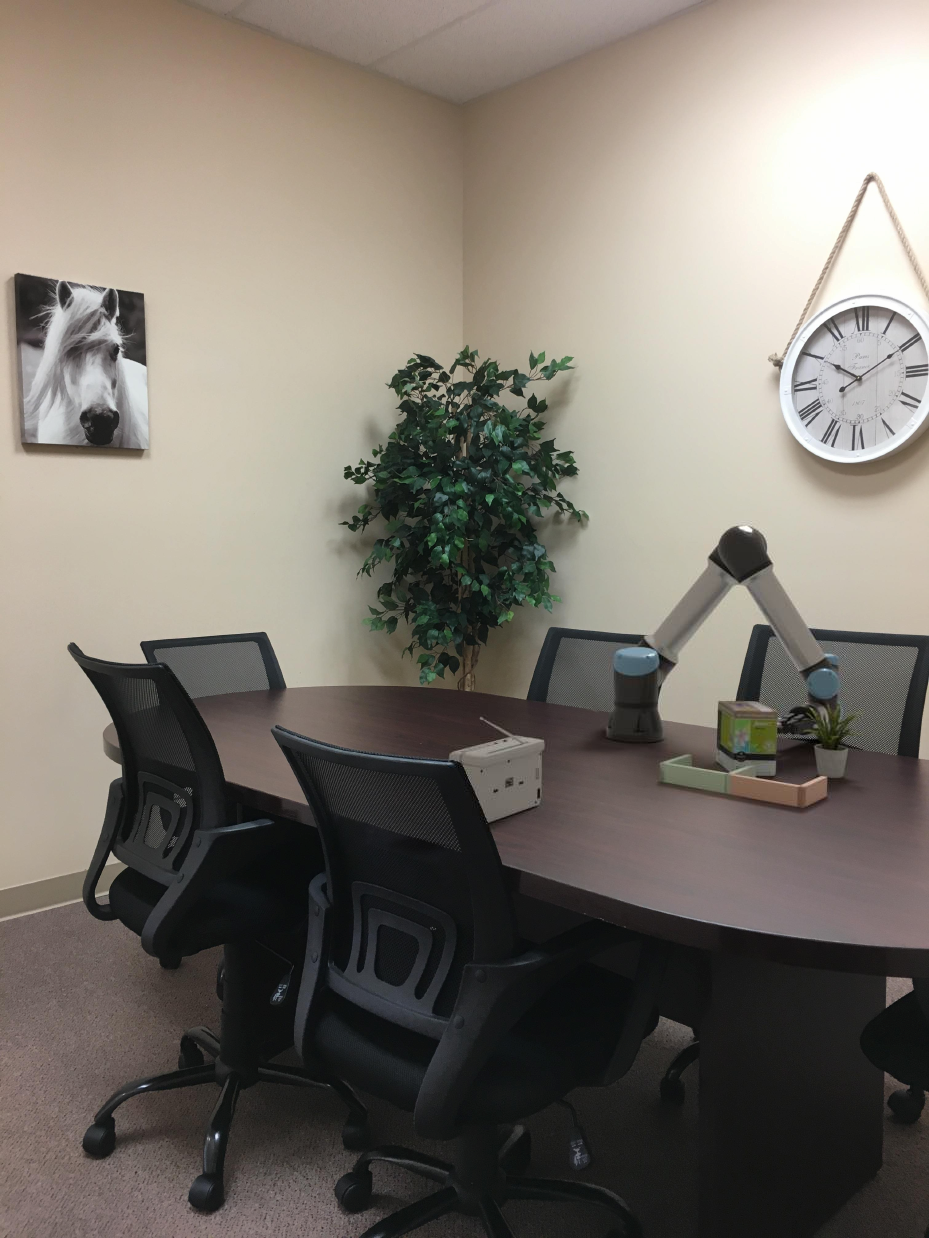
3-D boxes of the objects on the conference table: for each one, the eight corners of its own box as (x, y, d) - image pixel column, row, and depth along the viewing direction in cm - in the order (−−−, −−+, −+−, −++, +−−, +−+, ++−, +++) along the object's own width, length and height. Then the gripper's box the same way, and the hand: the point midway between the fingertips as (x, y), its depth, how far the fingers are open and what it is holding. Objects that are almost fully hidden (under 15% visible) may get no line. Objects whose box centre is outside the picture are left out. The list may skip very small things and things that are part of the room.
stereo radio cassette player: (513, 798, 191) (513, 700, 189) (547, 805, 186) (548, 704, 184) (446, 821, 175) (445, 714, 173) (481, 830, 170) (481, 719, 168)
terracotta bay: (730, 794, 194) (730, 775, 194) (755, 783, 202) (756, 765, 202) (803, 807, 184) (803, 787, 183) (826, 796, 192) (827, 776, 192)
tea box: (777, 776, 209) (779, 710, 208) (731, 776, 209) (733, 710, 208) (757, 761, 224) (759, 699, 223) (715, 761, 224) (716, 699, 223)
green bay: (659, 781, 205) (659, 762, 205) (686, 771, 214) (687, 754, 213) (730, 794, 194) (730, 775, 194) (755, 783, 202) (756, 765, 202)
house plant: (874, 785, 201) (877, 709, 200) (806, 782, 204) (808, 707, 202) (860, 770, 215) (863, 699, 214) (796, 767, 218) (798, 697, 216)
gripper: (832, 736, 238) (793, 751, 220) (782, 729, 246) (740, 743, 229) (833, 706, 237) (794, 719, 220) (782, 701, 246) (741, 713, 228)
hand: (766, 732), depth 224 cm, fingers closed
